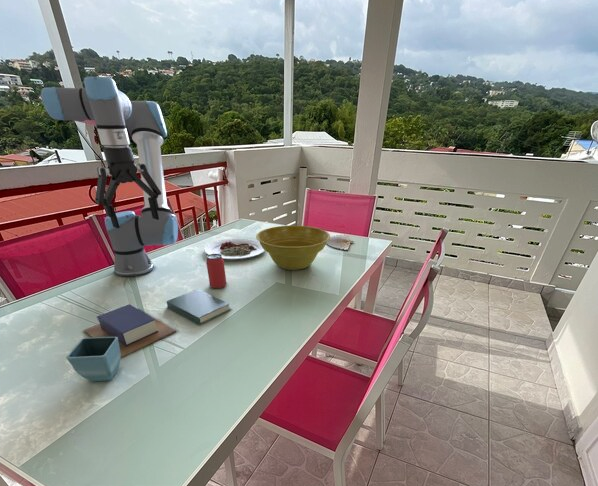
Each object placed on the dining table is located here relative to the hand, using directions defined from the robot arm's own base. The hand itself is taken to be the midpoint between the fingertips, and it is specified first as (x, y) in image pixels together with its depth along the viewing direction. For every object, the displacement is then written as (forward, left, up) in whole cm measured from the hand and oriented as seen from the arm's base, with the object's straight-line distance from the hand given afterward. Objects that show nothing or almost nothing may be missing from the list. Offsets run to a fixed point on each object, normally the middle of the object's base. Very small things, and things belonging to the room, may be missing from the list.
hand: (137, 223), depth 107 cm
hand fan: (+16, +100, -26) cm, 105 cm away
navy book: (+16, -19, -26) cm, 36 cm away
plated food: (-15, +53, -27) cm, 61 cm away
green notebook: (+20, +4, -26) cm, 33 cm away
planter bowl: (+18, +58, -27) cm, 66 cm away
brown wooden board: (+16, -19, -26) cm, 36 cm away
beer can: (+10, +21, -27) cm, 35 cm away
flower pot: (+31, -34, -27) cm, 53 cm away
